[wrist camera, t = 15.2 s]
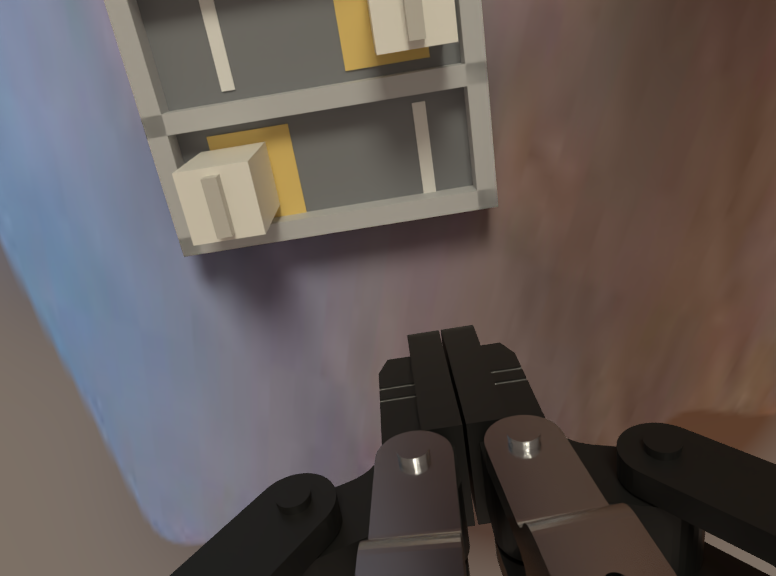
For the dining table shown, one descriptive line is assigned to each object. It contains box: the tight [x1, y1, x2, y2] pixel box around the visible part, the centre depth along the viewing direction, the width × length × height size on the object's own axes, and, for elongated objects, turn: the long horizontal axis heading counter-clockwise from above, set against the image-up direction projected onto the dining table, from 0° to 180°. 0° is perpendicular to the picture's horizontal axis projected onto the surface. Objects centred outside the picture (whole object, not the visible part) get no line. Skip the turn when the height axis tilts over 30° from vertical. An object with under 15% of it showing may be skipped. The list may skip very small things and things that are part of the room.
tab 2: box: [367, 0, 458, 55], centre depth 30 cm, size 4×4×7 cm
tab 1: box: [172, 142, 280, 246], centre depth 34 cm, size 4×4×7 cm
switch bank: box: [104, 0, 498, 257], centre depth 35 cm, size 20×16×3 cm
